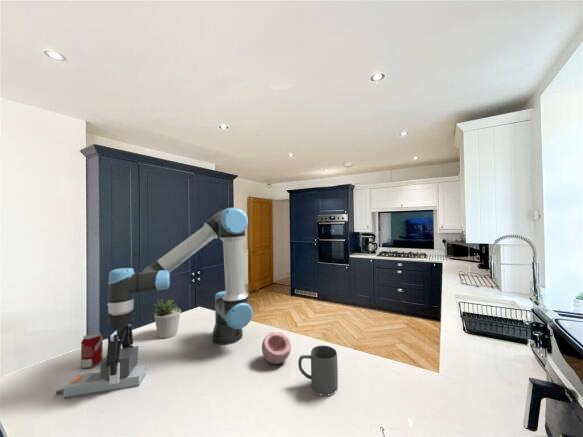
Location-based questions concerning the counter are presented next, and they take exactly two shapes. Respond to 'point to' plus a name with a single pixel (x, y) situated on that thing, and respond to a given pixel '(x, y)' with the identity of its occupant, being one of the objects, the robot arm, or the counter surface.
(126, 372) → the plug
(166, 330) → the potted plant
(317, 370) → the mug
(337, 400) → the counter surface
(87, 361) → the soda can
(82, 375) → the socket strip
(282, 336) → the pink round pot
